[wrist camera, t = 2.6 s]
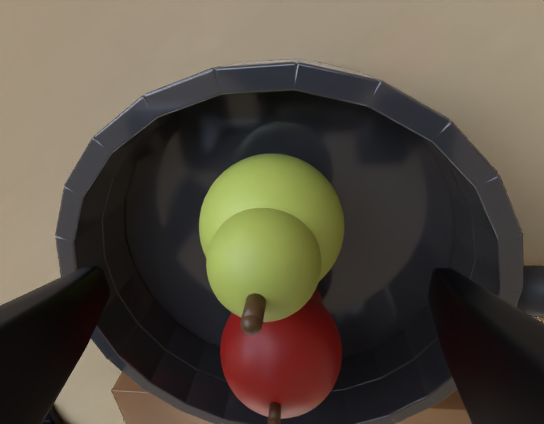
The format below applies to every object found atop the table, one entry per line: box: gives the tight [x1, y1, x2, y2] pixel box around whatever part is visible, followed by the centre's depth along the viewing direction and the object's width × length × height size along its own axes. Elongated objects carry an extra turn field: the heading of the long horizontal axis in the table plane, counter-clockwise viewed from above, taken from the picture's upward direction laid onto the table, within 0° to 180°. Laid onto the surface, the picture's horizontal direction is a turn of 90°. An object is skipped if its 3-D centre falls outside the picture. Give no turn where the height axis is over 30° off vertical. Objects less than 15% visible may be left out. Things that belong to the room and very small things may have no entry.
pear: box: [199, 154, 344, 335], centre depth 10 cm, size 5×5×8 cm
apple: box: [220, 289, 342, 424], centre depth 14 cm, size 5×5×6 cm
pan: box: [55, 59, 524, 424], centre depth 14 cm, size 16×16×4 cm
